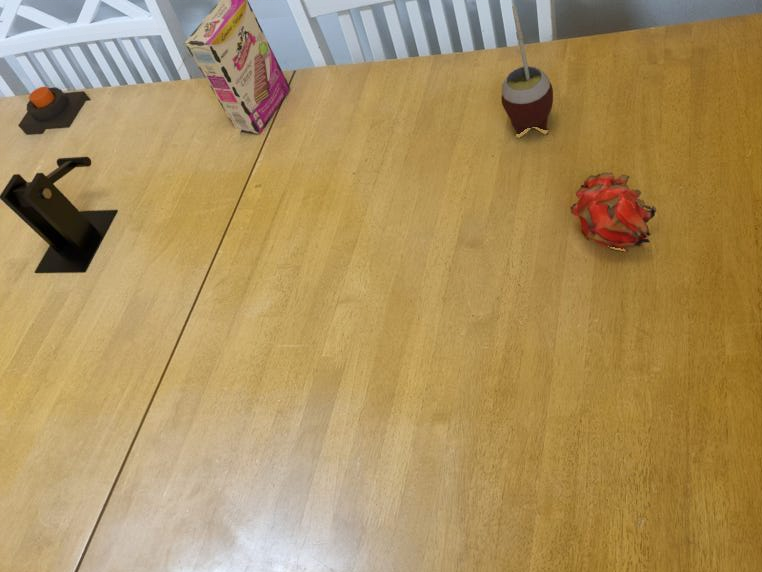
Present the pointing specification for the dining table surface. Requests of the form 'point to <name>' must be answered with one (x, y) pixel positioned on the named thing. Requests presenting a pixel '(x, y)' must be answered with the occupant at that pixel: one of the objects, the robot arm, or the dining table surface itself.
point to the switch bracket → (59, 224)
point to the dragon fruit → (612, 212)
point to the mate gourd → (526, 92)
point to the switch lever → (54, 175)
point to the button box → (53, 112)
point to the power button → (41, 97)
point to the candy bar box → (239, 64)
